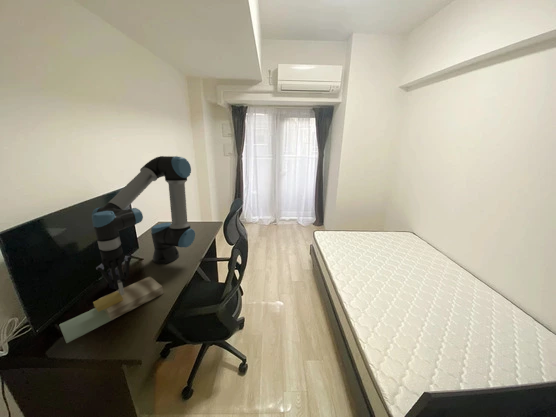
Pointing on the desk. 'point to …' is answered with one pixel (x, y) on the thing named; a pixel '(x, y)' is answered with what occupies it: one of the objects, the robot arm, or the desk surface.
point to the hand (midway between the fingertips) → (121, 293)
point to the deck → (135, 297)
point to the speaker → (111, 278)
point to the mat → (83, 324)
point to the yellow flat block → (107, 301)
